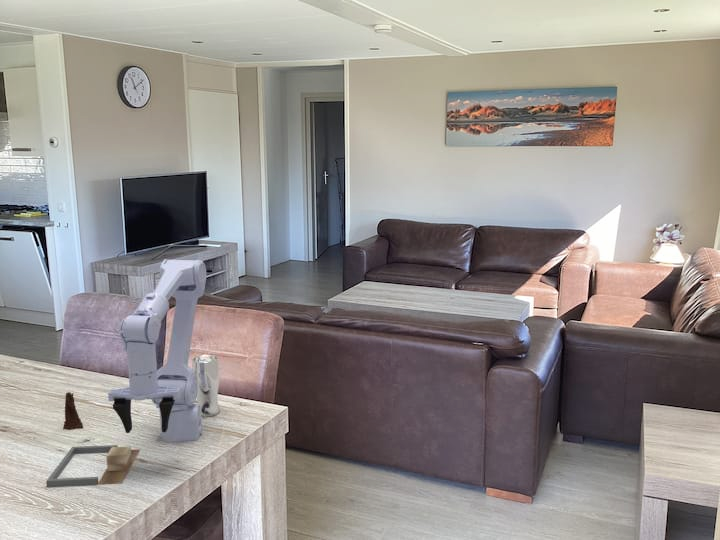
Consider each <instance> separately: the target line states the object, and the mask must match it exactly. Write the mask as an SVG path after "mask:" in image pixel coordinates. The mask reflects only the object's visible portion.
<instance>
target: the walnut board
mask: <svg viewBox="0 0 720 540" xmlns="http://www.w3.org/2000/svg"><path fill="white" fill-rule="evenodd" d="M140 451H141V449H140V448H139V449H136V448H135V449H131V458H132V462H131V463H130V465H129V467H128V469H127V470H118V471H108V468H106V469H105V471H104V472H103V474H102V476H101V477H100V479H99V480H98V484H97V485H96V486H98V485H99V486H100V485H101V486H103V485H117V484H118V485H119V484H120V485H122V484H123V483H124V481H125V479H126V478H127V476H128V473H129V472H130V470H131V468H132V466H133V464H134V462H135V461H136V458H137V457H138V455H139V453H140Z"/></svg>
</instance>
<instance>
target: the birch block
mask: <svg viewBox="0 0 720 540" xmlns="http://www.w3.org/2000/svg"><path fill="white" fill-rule="evenodd" d="M131 447H132V446H129V445H128V446H118V447H112V448H111V449H110V451H109V452H107V455H106V465H107V468H108V471H118V470H127V469H128V467H129V465H130V463H131V462H132V458H131V450H132V448H131ZM107 468H106V469H107Z"/></svg>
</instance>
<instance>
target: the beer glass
mask: <svg viewBox="0 0 720 540" xmlns="http://www.w3.org/2000/svg"><path fill="white" fill-rule="evenodd" d="M191 360H192V363H191V369H192V370H193V371H194V372H195V373H196V374H197V377H198V380H197V386H198V394H197V398H196V401H197V402H196V404H199V405H200V407H201V418H202V417H203V418H208V417H213V416H216V415H218V414H219V413H220V405H219V402H218V401H219V400H218V395H219V394H218V393H219V387H220V378H221V377H220V375H221V374H220V365H219V357H218V355H215V354H201V355H197V356H196V355H195V356H194V357H193V358H192V359H191Z"/></svg>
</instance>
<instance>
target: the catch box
mask: <svg viewBox="0 0 720 540" xmlns="http://www.w3.org/2000/svg"><path fill="white" fill-rule="evenodd" d="M112 447H119V446H118V444H109V445H108V444H107V445H88V446H86V445H85V446H72V447H71V448H70V449H69V451H68V452H67V453H66V454H65V455H64V457H63V458H62V459H61V461H59V464H58V465H57V466H56V467H55V469H54V470H53V472H51V474H50V475H49V477H48V478H47V480H46V482H45V483H46V487H47V488H56V487H74V486H75V487H77V486H78V487H79V486H98V485H97V484H98V482H99V477H98V476H89V477H88V476H87V477H85V476H84V477H66V478H65V477H63V478H60V477H59V476H60V475H61V474H62V472H63V471H64V470H65V468H67V466H68V465H69V463H70V461H71V460H72V459H73V457H74V456H75V455H79V454H80V455H81V454H82V455H83V454H100V453H101V454H103V453H107V454H108V453H109V451H110V449H111V448H112Z"/></svg>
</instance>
